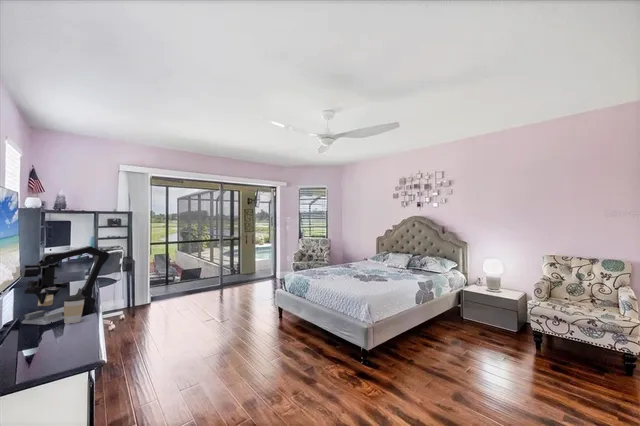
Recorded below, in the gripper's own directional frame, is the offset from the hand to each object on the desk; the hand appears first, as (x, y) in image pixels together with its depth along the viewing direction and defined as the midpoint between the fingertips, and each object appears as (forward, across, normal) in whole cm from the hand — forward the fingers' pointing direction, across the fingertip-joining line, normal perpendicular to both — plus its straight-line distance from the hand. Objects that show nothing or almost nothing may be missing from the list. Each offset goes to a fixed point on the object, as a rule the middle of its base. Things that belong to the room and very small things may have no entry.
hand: (45, 303), depth 158 cm
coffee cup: (+10, 0, +17) cm, 20 cm away
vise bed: (+10, 0, 0) cm, 10 cm away
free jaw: (+9, 0, -6) cm, 11 cm away
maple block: (+1, 0, 0) cm, 1 cm away
